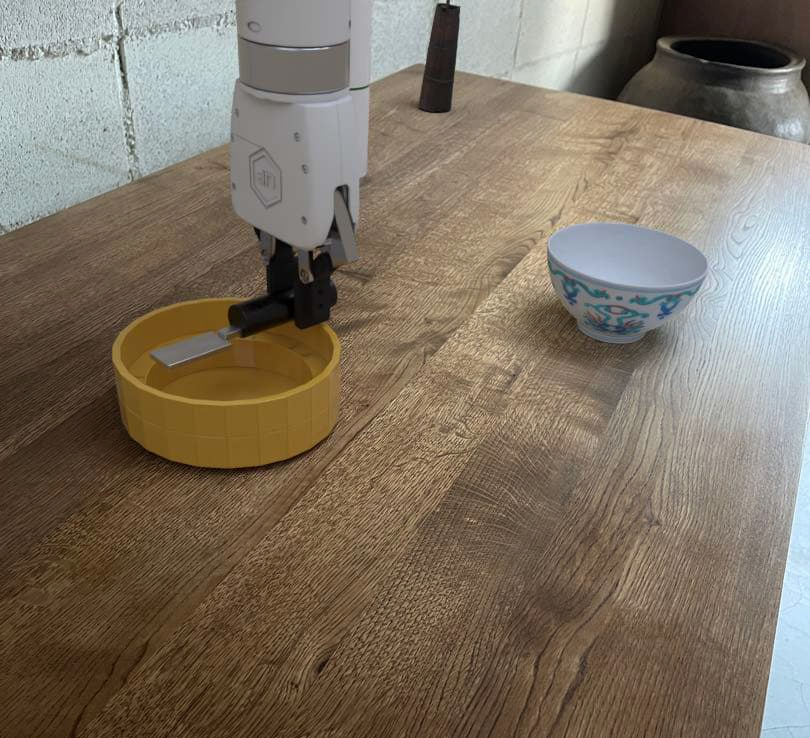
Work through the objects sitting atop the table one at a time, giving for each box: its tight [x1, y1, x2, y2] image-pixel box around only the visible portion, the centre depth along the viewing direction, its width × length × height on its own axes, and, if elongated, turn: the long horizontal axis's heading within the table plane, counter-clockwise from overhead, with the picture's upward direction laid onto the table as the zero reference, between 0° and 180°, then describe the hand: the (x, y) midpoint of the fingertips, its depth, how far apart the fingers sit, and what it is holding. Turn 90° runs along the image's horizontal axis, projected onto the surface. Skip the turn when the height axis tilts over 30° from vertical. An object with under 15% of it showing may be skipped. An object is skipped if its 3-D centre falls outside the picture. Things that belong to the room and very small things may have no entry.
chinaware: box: [546, 221, 710, 345], centre depth 88 cm, size 15×15×8 cm
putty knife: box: [149, 278, 339, 371], centre depth 70 cm, size 16×3×3 cm, turn 134°
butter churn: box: [418, 0, 461, 113], centre depth 138 cm, size 9×10×28 cm
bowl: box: [111, 296, 342, 469], centre depth 72 cm, size 17×17×6 cm
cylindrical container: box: [348, 0, 374, 180], centre depth 113 cm, size 7×7×25 cm
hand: (298, 314), depth 74 cm, fingers closed on putty knife, 2 cm apart
